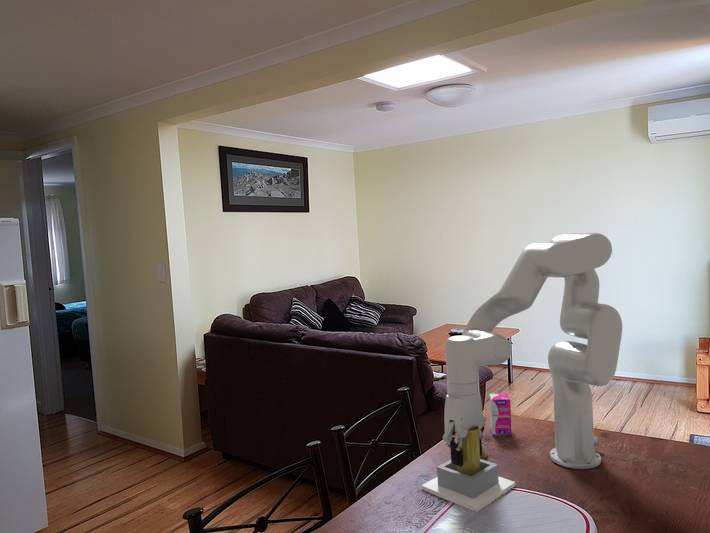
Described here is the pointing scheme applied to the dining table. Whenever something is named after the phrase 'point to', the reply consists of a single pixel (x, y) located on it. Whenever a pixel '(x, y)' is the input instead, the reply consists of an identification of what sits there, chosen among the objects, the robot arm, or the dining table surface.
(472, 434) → the vase
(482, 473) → the holder
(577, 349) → the robot arm
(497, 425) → the supplement box
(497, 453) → the dining table surface
